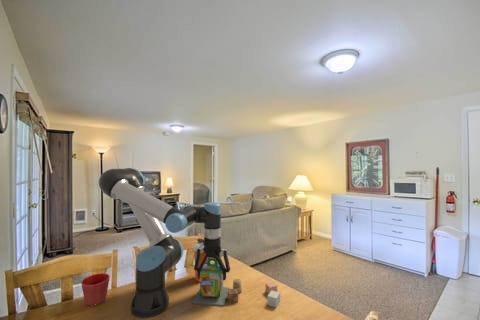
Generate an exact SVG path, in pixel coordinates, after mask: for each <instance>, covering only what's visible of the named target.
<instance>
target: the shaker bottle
mask: <svg viewBox="0 0 480 320" xmlns="http://www.w3.org/2000/svg"><path fill="white" fill-rule="evenodd" d="M196 241H197V242H195V243H194V245H193V253H194V263H195V262H196V258H197V249H198V248H199V247H200V248H204V238H197V239H196ZM205 255H206V254H205V253H204V251H203V252H202V253H201V257H200V261H199V265H198V267H200V265H201V263H202V261H203V259H204V257H205ZM207 261H208V258H207V260H206V262H207ZM194 279H195V281H196V282H199V283H200V279H198V271H197V270H194Z"/></svg>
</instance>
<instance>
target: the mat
mask: <svg viewBox="0 0 480 320" xmlns="http://www.w3.org/2000/svg"><path fill="white" fill-rule="evenodd" d="M228 289H231V288H230V287H228V286H227V287H226V286H223V288H222V291H221V295H220V297H209V296H200V288H199V289H198V291H197V292H196V294H195V297H194V299H192V304H193V305H202V306H204V305H206V306H215V307H216V306H217V307H225V305H226V302H227V299H228Z"/></svg>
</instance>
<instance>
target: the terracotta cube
mask: <svg viewBox="0 0 480 320" xmlns="http://www.w3.org/2000/svg"><path fill="white" fill-rule="evenodd" d="M271 290H272V291H276V292H278V285H277V284H276V283H275V282H274V281H271V282H267V283H266V282H265V293H266V294H267V296H268V295H269V293H270V292H271Z"/></svg>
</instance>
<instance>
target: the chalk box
mask: <svg viewBox="0 0 480 320" xmlns="http://www.w3.org/2000/svg"><path fill="white" fill-rule="evenodd" d="M221 273H222V269H221V268H220V266H219V263H218V261H217V260H216V258H208V261H207V262H205V263H204V265H203V267H202V269H201V277H200V282H199V289H200V296H209V297H220V295H221V291H222V288H221Z"/></svg>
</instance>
